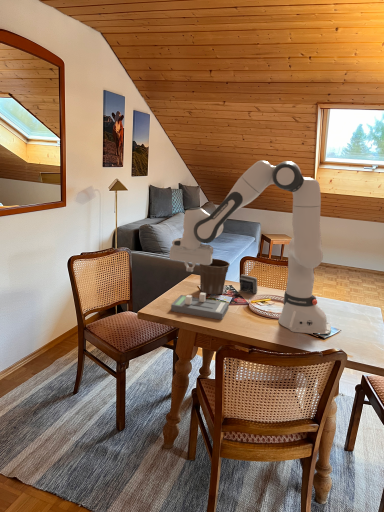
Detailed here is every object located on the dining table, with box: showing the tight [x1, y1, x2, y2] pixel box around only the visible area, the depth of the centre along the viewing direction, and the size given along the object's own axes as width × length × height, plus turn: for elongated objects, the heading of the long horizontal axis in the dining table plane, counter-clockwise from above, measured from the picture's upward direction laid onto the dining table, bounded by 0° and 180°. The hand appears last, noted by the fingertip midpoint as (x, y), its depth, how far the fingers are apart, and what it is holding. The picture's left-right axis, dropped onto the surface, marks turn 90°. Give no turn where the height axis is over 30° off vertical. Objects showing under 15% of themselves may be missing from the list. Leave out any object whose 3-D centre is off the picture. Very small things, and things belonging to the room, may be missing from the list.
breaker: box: [185, 294, 193, 305], centre depth 181 cm, size 2×3×4 cm
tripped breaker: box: [198, 291, 207, 302], centre depth 185 cm, size 2×3×4 cm
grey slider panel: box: [170, 294, 230, 321], centre depth 183 cm, size 24×14×3 cm, turn 74°
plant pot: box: [199, 258, 230, 296], centre depth 207 cm, size 16×16×16 cm
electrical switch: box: [239, 273, 258, 295], centre depth 210 cm, size 9×5×9 cm, turn 57°
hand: (189, 271), depth 184 cm, fingers closed
